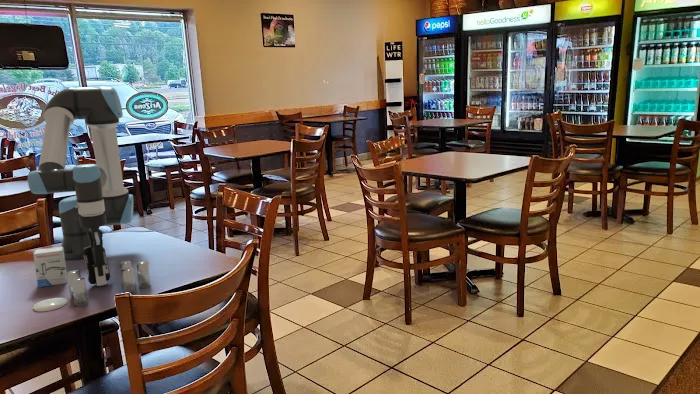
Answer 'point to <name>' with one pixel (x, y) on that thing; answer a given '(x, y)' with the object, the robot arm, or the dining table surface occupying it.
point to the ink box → (50, 266)
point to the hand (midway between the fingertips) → (101, 284)
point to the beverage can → (90, 263)
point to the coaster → (50, 304)
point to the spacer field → (127, 280)
